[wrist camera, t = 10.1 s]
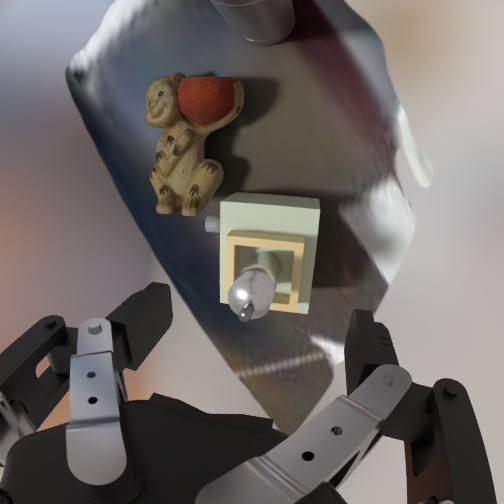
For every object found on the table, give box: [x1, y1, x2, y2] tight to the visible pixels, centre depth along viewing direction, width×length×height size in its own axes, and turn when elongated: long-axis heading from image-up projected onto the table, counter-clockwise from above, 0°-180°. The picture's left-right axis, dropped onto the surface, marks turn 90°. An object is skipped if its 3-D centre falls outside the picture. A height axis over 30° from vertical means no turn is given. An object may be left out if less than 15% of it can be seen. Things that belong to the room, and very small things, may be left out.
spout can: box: [227, 251, 282, 322], centre depth 33 cm, size 4×4×11 cm
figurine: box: [145, 72, 244, 216], centre depth 39 cm, size 15×9×20 cm
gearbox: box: [205, 192, 320, 314], centre depth 40 cm, size 14×15×10 cm
